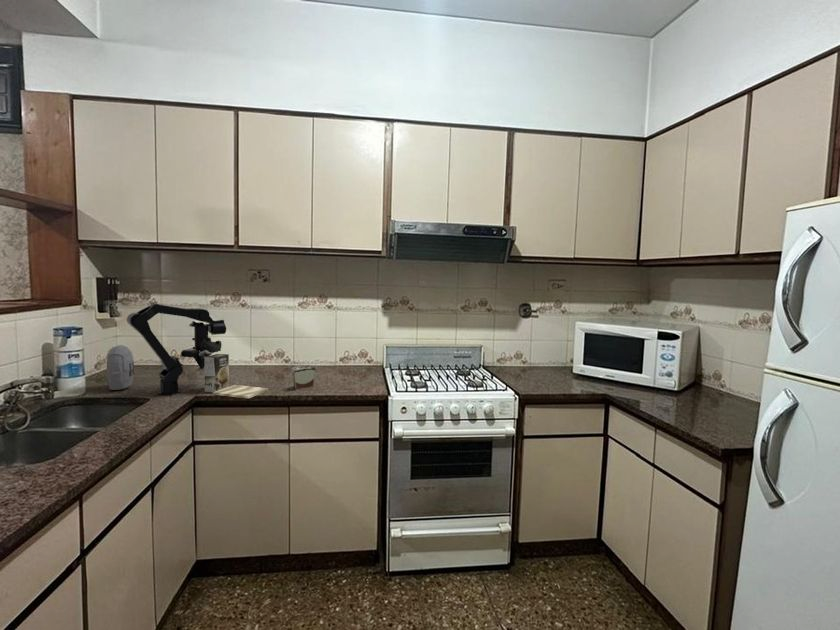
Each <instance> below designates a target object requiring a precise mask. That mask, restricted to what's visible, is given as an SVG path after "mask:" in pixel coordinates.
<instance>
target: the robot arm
mask: <svg viewBox="0 0 840 630" xmlns="http://www.w3.org/2000/svg"><path fill="white" fill-rule="evenodd" d="M158 314H162V315H169V316H177V317H183V318H188V319H192V322H191V323H189V325H188V326H189V327H192V328H193V335H194V337H192V341H194V346H192V349H191V348H187V349H183V350H182V351H181V352H180V357H184V358H193V359H194V360H195V363H197V365H198V367H199V369H200V370H203V369H204V370H205V357H206V356H211V355H213V354H214V353H218V352H221V350H222V344H223V343H222V341H221V340H216V341H212V338H211V337H209V334H210V335H211V336H214V335H215V336H216V335H225V334H226V332H227V326H226V324H225V320H224V319H218V320H213V318H212V317H211V316H210V315H211V314H210V312H209V311H208V310H207V309H205V308H201V307H199V308H198V307H197V308H196V307H194V308H193V307H191V308H184V307H178V306H171V305H165V304H159V303H155V302H154V303H153V302H152V303H151V304H149V305H148V306H146V307H144V308H142V309H140V310H139V311H136V312H132V313H130V314H128V315H127V318H126V322H127V324H128V325H129V326H130V327H131V328H133V329H134V330H135V331H136V332H137V333H139V334H140V335H141V337H142V338H143V339H144V340H145V342H146V343H147V344H148V346H149V347H150V348H151V350H152V351H153V352H154V353H155V355H156V357H158V359H159V360H160V363H161V366H162V368H163V369H162V370H161V372H159V373H158V376H159V380H160V383H159V385H160V391H159V392H157V395H162V394H164V396H171V395H175V394H178V393H181V390H179V378H180V375H182V373H183V371H184V367H183V366H184V364H182V363H181V362H180V359H179V358H178V357H176V356H174V355H173V356H171V355H170V354H169V353H168V351H167V350H166V349H165V347H164V346H163V344H162V343H161V342H160V340H159V339H158V337H156V335H155V334H154V332H153V331H152V330H151V326H150V323H149V322H148V321H150V320H152V319H153V318H154V317H155V316H156V315H158ZM195 320H196V321H198V322H196V321H195Z"/></svg>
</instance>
